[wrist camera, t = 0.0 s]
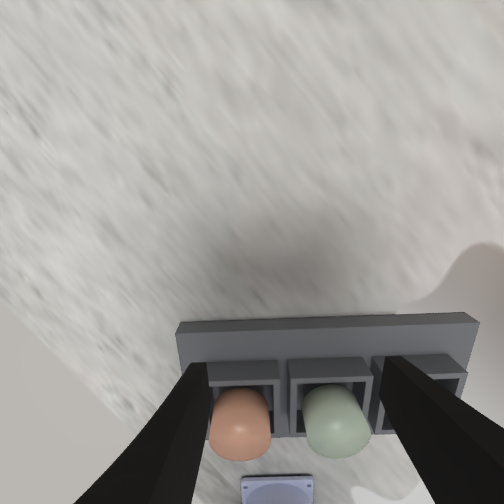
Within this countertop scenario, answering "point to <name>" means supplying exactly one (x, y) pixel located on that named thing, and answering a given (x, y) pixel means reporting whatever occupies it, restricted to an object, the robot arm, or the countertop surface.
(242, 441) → the terracotta button
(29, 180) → the countertop surface
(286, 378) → the panel
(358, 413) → the sage button
